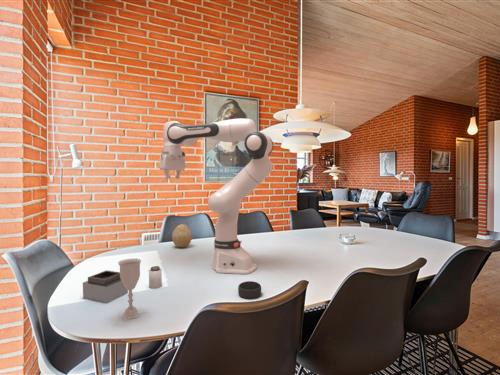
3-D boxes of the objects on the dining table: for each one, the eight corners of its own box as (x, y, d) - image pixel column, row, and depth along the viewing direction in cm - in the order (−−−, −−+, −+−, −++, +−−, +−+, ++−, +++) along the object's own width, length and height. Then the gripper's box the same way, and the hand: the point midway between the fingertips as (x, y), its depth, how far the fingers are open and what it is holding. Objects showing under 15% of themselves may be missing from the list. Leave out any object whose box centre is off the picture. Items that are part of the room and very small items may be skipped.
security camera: (164, 285, 119) (163, 266, 119) (156, 289, 115) (156, 270, 114) (154, 283, 121) (154, 265, 121) (146, 287, 116) (146, 268, 116)
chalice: (114, 318, 91) (112, 263, 91) (130, 309, 98) (128, 257, 97) (131, 322, 89) (130, 265, 88) (147, 312, 95) (146, 259, 94)
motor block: (127, 292, 111) (127, 272, 111) (106, 303, 102) (106, 281, 102) (98, 287, 117) (97, 268, 117) (75, 296, 108) (75, 276, 108)
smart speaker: (233, 296, 108) (233, 286, 107) (246, 288, 115) (246, 279, 115) (253, 301, 103) (253, 291, 103) (265, 293, 110) (265, 283, 110)
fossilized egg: (171, 250, 176) (171, 226, 176) (172, 245, 188) (172, 223, 188) (192, 248, 179) (192, 225, 178) (191, 244, 191) (191, 222, 191)
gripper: (166, 150, 137) (167, 178, 138) (186, 153, 157) (187, 178, 158) (155, 151, 139) (156, 179, 140) (176, 154, 159) (177, 178, 159)
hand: (173, 178), depth 149 cm, fingers open, 8 cm apart
